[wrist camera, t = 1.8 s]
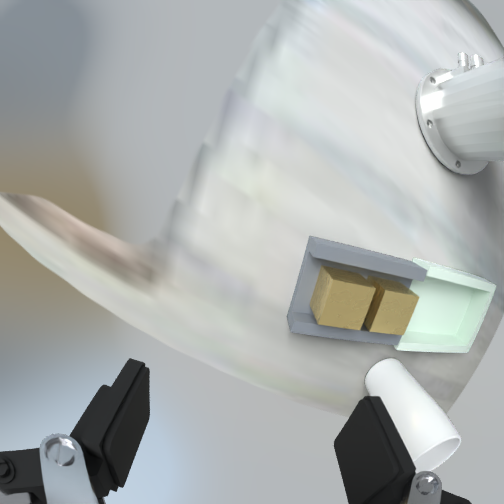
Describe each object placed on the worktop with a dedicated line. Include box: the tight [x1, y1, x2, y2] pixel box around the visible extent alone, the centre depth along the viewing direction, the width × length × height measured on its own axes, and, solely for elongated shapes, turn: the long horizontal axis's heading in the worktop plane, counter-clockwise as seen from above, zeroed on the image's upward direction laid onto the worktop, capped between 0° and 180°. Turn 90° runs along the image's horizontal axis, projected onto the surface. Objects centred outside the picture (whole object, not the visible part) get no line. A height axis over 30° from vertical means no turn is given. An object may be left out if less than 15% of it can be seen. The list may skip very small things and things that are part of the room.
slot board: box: [287, 236, 428, 345], centre depth 25 cm, size 8×12×3 cm
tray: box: [393, 257, 497, 353], centre depth 26 cm, size 9×13×3 cm
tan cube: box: [363, 275, 419, 335], centre depth 24 cm, size 4×4×4 cm
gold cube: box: [309, 265, 376, 330], centre depth 24 cm, size 4×4×4 cm
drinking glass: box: [365, 358, 461, 474], centre depth 22 cm, size 7×7×15 cm
